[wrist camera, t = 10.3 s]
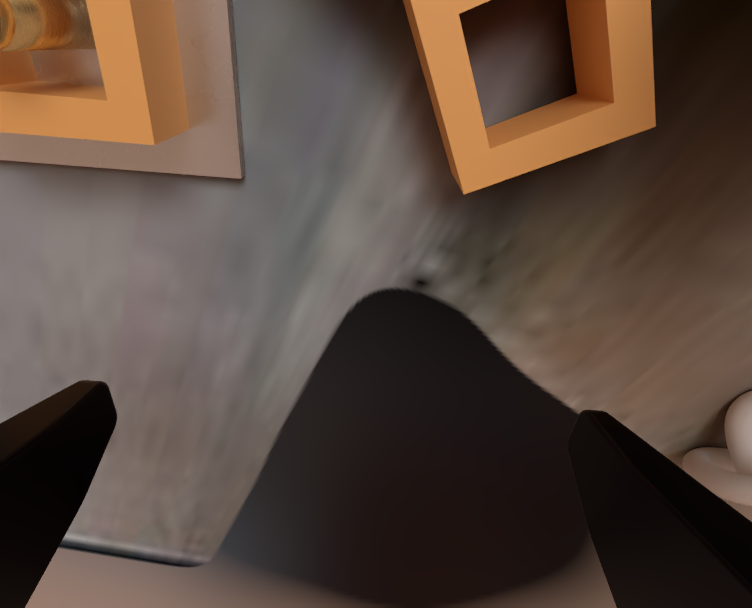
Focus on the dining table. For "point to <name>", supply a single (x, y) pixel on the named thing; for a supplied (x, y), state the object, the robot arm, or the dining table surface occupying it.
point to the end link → (106, 82)
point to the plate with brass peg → (81, 66)
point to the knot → (727, 457)
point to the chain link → (550, 122)
